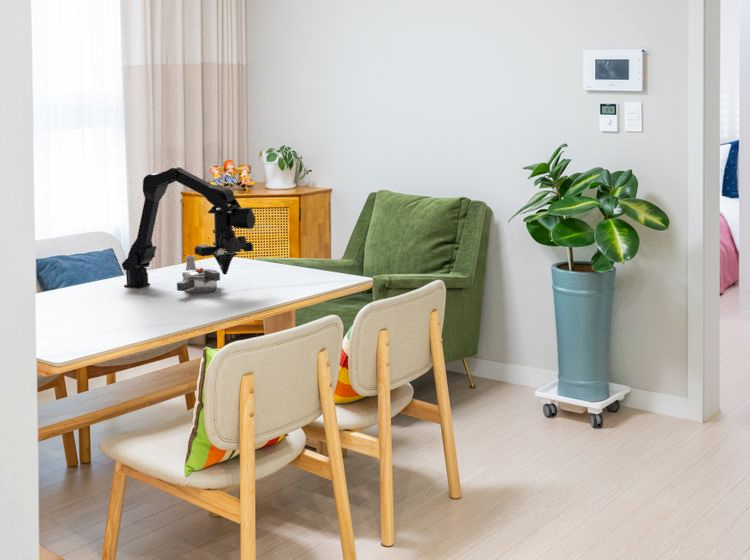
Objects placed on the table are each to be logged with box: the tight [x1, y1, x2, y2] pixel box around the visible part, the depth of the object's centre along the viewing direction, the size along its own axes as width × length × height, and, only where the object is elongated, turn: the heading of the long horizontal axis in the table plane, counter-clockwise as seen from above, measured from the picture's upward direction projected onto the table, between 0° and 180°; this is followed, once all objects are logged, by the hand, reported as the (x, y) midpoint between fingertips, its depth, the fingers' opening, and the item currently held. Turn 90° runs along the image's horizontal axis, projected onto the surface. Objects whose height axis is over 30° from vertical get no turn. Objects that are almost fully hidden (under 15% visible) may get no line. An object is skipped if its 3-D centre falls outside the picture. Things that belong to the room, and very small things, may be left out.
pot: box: [176, 276, 218, 295], centre depth 317 cm, size 20×11×5 cm, turn 158°
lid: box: [181, 267, 221, 282], centre depth 316 cm, size 18×12×2 cm, turn 38°
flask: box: [181, 255, 197, 281], centre depth 328 cm, size 7×7×10 cm
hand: (224, 274), depth 314 cm, fingers closed
